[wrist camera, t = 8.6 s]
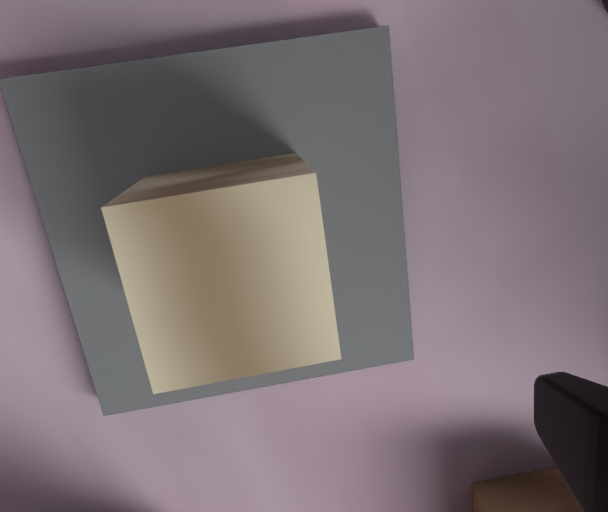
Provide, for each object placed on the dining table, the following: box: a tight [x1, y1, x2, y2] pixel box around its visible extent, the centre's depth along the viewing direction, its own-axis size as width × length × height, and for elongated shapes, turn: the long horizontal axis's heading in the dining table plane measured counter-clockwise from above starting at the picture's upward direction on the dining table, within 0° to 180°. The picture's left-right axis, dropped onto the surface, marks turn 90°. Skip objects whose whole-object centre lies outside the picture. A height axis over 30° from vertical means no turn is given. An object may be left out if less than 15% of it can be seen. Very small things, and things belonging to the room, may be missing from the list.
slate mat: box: [0, 26, 414, 416], centre depth 17 cm, size 12×12×1 cm
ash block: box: [101, 153, 341, 394], centre depth 14 cm, size 5×5×5 cm
